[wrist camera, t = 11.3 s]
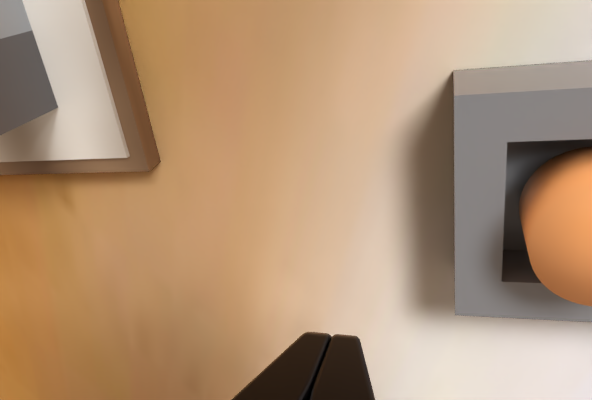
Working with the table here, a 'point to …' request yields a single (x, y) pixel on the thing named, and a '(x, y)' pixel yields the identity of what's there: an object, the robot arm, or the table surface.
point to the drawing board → (83, 96)
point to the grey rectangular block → (21, 70)
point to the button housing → (510, 180)
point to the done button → (561, 224)
